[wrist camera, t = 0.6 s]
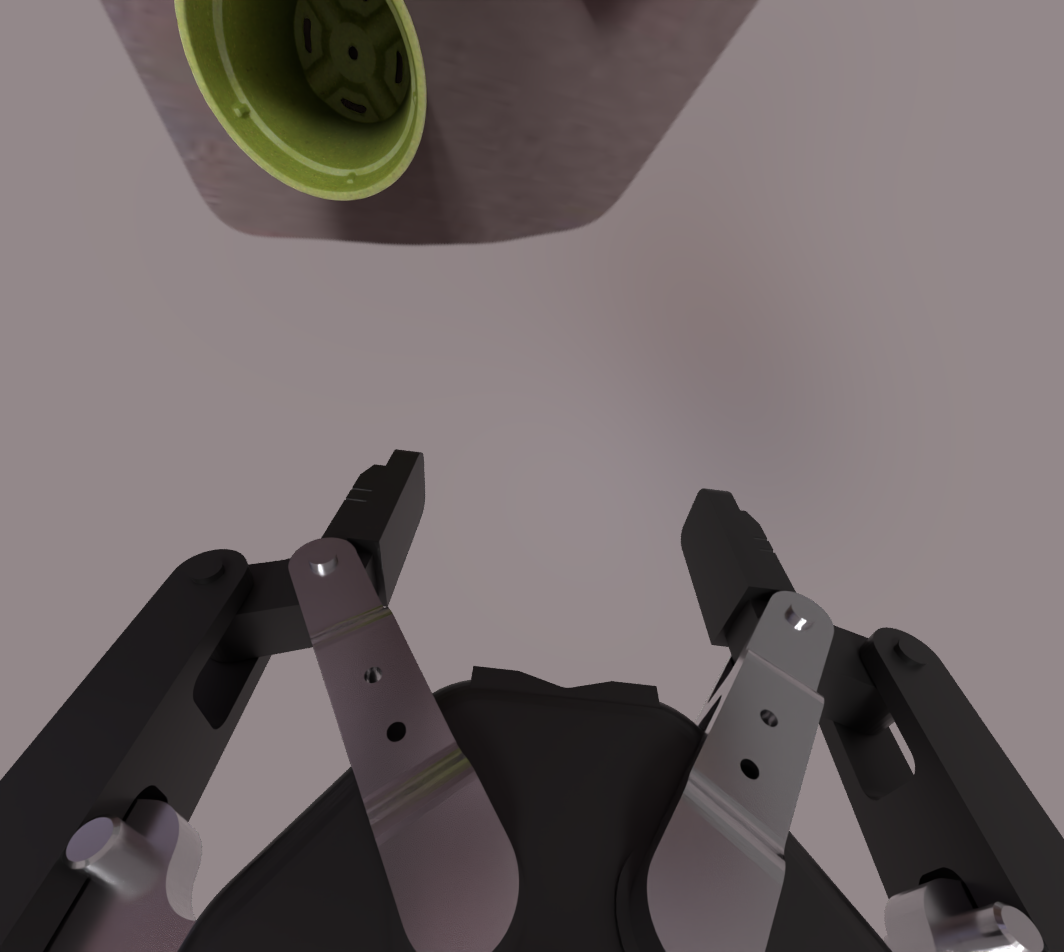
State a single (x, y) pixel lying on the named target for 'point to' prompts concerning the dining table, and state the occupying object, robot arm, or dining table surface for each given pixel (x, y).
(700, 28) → the dining table surface
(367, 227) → the dining table surface
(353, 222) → the dining table surface
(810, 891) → the robot arm
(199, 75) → the plant pot
